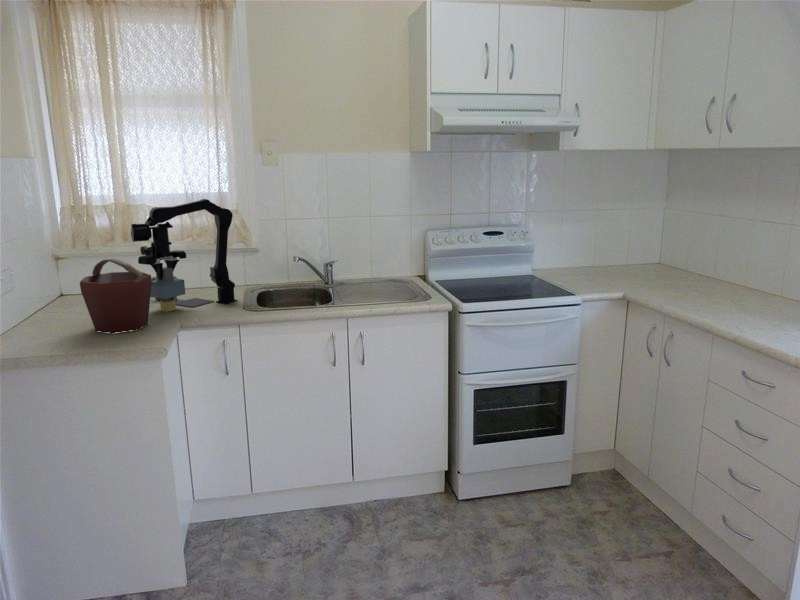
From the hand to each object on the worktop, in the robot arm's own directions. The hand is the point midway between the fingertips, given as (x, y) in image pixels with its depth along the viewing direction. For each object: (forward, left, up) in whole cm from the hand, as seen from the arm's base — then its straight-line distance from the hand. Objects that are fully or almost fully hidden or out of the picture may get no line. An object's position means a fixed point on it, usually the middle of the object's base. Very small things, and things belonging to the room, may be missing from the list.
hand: (165, 278), depth 230 cm
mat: (0, -13, -13) cm, 18 cm away
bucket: (-6, +26, -13) cm, 30 cm away
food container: (+15, -13, -13) cm, 24 cm away
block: (0, 0, -13) cm, 13 cm away
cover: (0, 0, -7) cm, 7 cm away
